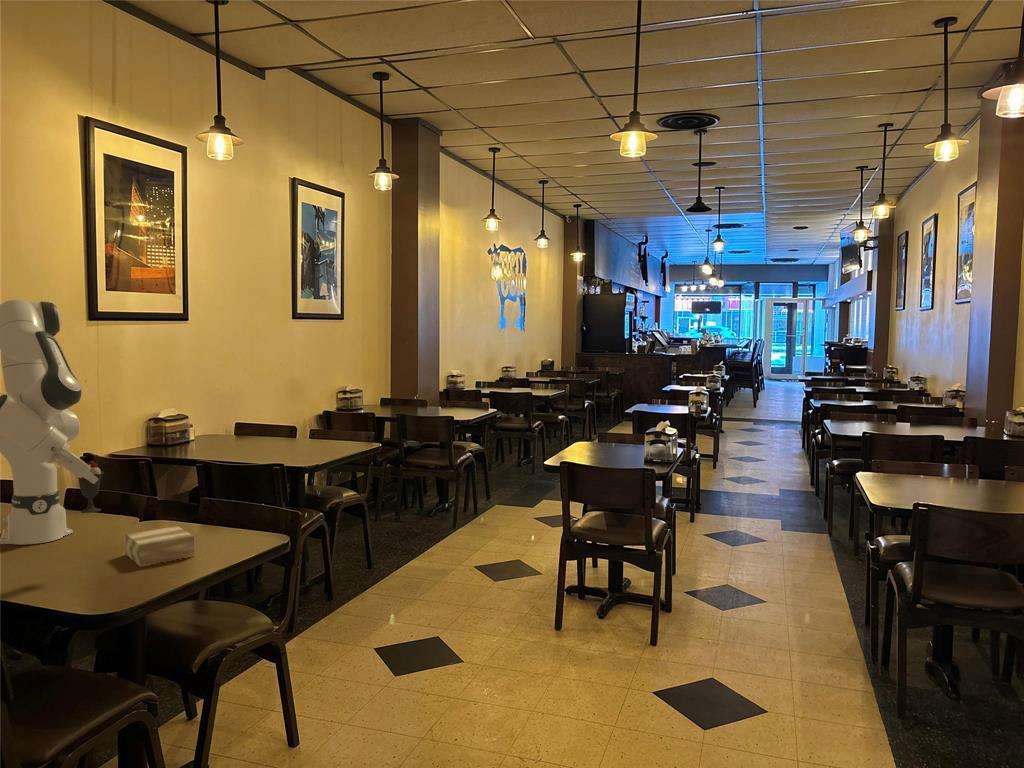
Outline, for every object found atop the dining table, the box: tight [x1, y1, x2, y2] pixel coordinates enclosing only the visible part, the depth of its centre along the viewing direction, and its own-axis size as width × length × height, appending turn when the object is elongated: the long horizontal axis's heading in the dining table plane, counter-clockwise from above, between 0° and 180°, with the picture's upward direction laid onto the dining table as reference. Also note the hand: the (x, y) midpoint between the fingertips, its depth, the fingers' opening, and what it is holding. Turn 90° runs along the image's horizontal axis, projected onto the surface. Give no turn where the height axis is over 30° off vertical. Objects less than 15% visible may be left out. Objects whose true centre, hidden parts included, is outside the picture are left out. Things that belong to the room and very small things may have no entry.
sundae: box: [77, 454, 104, 514], centre depth 192 cm, size 7×7×15 cm
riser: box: [125, 525, 195, 568], centre depth 204 cm, size 14×14×6 cm
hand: (92, 478), depth 192 cm, fingers closed on sundae, 6 cm apart
